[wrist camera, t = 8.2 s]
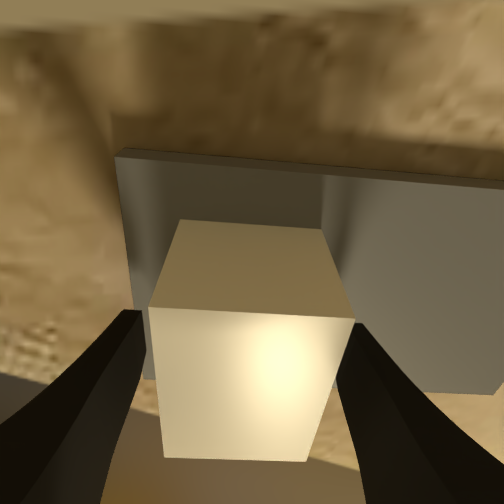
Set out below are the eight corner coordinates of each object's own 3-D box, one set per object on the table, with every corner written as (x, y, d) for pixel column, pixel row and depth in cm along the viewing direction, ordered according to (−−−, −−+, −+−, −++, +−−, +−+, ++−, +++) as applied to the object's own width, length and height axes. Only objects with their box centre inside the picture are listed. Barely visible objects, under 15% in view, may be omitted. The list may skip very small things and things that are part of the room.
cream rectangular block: (321, 229, 12) (356, 318, 8) (291, 359, 16) (306, 461, 12) (180, 219, 12) (147, 307, 8) (184, 354, 15) (164, 457, 12)
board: (619, 190, 12) (758, 248, 9) (481, 378, 18) (534, 455, 15) (123, 147, 11) (71, 195, 8) (148, 362, 17) (124, 441, 14)
